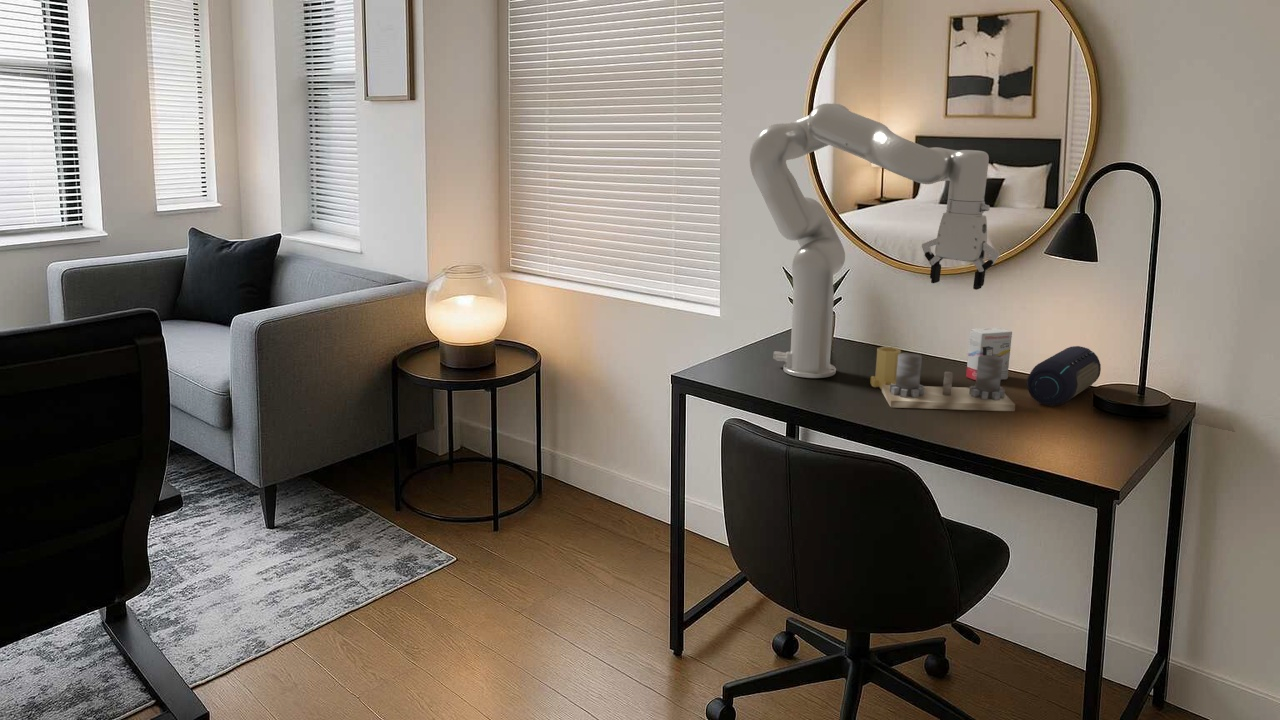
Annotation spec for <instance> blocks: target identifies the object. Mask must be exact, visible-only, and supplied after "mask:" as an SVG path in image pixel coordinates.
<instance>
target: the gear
mask: <svg viewBox="0 0 1280 720" xmlns="http://www.w3.org/2000/svg"><path fill="white" fill-rule="evenodd" d="M901 353H902V351H901V349H900V348H897V347H892V346H891V347H890V346H881V347H878V348H876V363H875V375H871V376H870V380H869V381H870V383H869V384H870V385H871V387H873V388H879V389H880V390H882V385H891V383H893V384H896V375H897V363H898V354H901Z"/></svg>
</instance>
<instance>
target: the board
mask: <svg viewBox="0 0 1280 720" xmlns="http://www.w3.org/2000/svg"><path fill="white" fill-rule="evenodd" d="M922 359H923V356H922V355H921V354H917V353H912V352H901V354H898V363H897V375H896V384H893V383H891V385H882V389H881V393H882V395H883V396H884V399H885V401H886V402H887V403H888V405H889V407H890V408H897V409H898V408H899V409H901V408H904V409H927V410H928V409H931V410H933V409H935V410H958V411H960V410H961V411H963V410H964V411H988V412H989V411H990V412H991V411H992V412H993V411H994V412H1015V410H1016V403H1014V402H1013V401H1012V399H1010V397H1009V396H1008V395H1006V390H1005V389H1004V387H1002V386H1001V381H1002V379H1001V372H1002V363H1003V359H1002V358H1001V357H997V356H991V355H982V356H979V357H978V367H977V377H976V380H975V383H974V385H970V386H969V387H967V386H966V387H965V386H964V387H959V386H958V387H957V386H952V385H953V378H954V377H953V376H954V372H953V371H944V373H943V383H942V386H929V385H928V386H927V385H923V384H920V382H921V370H922V361H923V360H922Z"/></svg>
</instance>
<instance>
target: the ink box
mask: <svg viewBox="0 0 1280 720" xmlns="http://www.w3.org/2000/svg"><path fill="white" fill-rule="evenodd" d="M1012 337H1013V331H1011V330H1008V329H1005V328H1002V327H984V328H983V327H982V328H971V329H969V341H968V342H969V343H968V351H967V352H968V353H967V364H966V371H965V372H966V373H965V377H966V378H968V379H971V380H973V381H976V377H977V367H978V357H979V356H982V355H991V356H997V357H1001V358H1002V359H1003V363H1002V372H1001V380H1007V379H1008V376H1009V366H1010V356H1011V348H1012V347H1011V346H1012Z"/></svg>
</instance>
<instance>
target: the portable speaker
mask: <svg viewBox="0 0 1280 720" xmlns="http://www.w3.org/2000/svg"><path fill="white" fill-rule="evenodd" d="M1101 366H1102V365H1101V362H1100V359H1099V357H1098V356H1097V354H1096V353H1095V352H1094V351H1092V350H1091V349H1090V348H1088V347H1085V346H1080V345H1075V346H1069V347H1066V348H1065V349H1063V350H1061V351H1059V352H1057V353H1055V354H1054V355H1052V356H1049V358H1047V359H1045V360H1043V361H1041V362H1039V363H1038V364H1036V365H1035V366H1034V367H1033V368H1032V369H1031V371H1030V372H1029V374H1028V376H1027V380H1026V386H1027V391H1028V392H1029V393H1028V394H1029V395H1030V396H1031V398H1033V400H1035V401H1036V402H1038V403H1040V404H1041V405H1042V404H1043V405H1046V406H1060V405H1063V404H1065V403H1067V402H1068V401H1070V400H1071V399H1073V398H1074V397H1076V396H1077V395H1079V394H1080V393H1082V392H1083V391H1085V390H1086V389H1088V388H1089V387H1091V386H1092V385H1093V384H1095V383H1096V381H1097V380H1098V379H1099V377H1100V375H1101V369H1102V367H1101Z"/></svg>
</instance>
